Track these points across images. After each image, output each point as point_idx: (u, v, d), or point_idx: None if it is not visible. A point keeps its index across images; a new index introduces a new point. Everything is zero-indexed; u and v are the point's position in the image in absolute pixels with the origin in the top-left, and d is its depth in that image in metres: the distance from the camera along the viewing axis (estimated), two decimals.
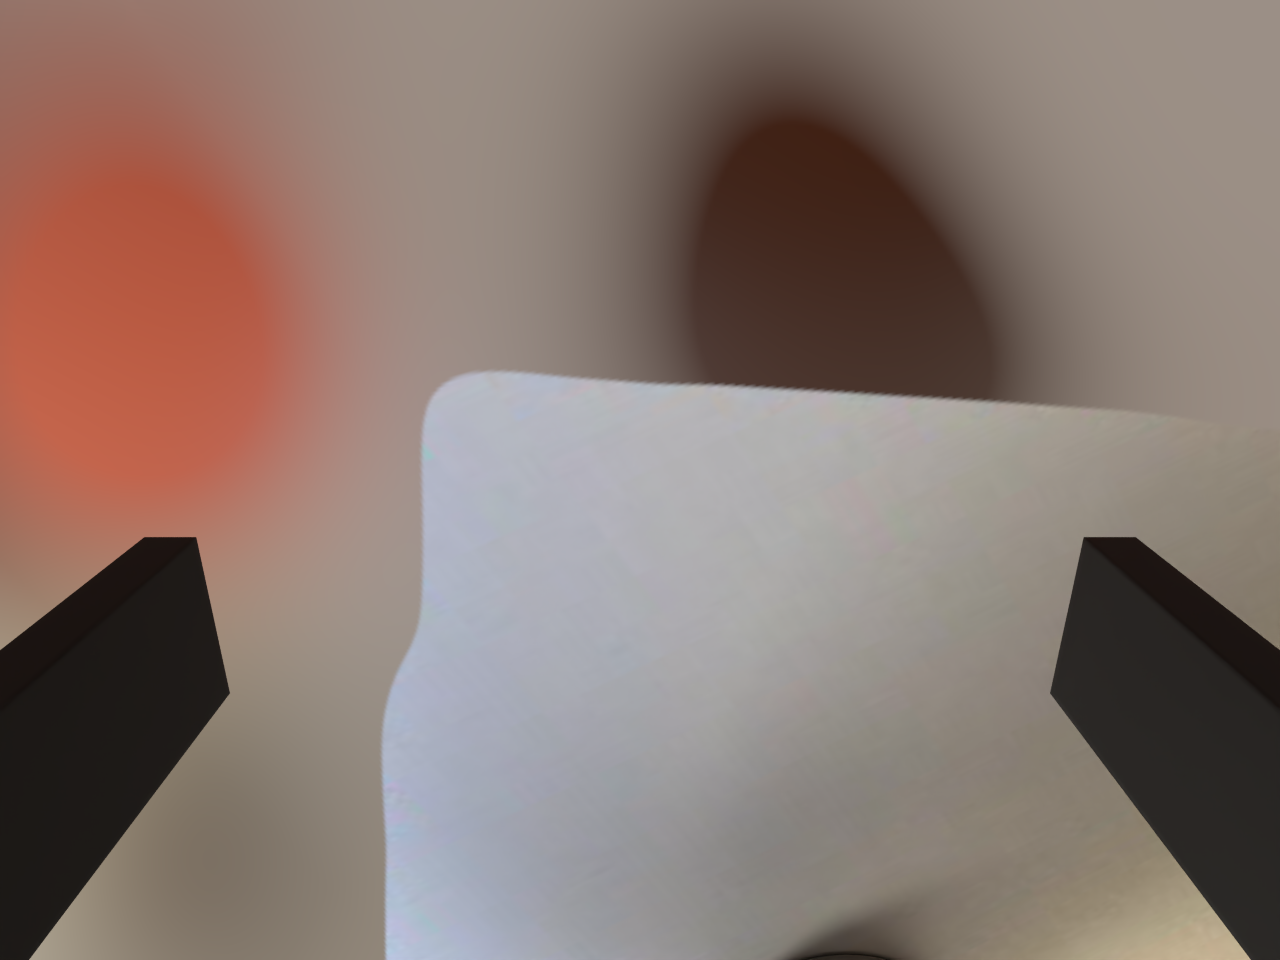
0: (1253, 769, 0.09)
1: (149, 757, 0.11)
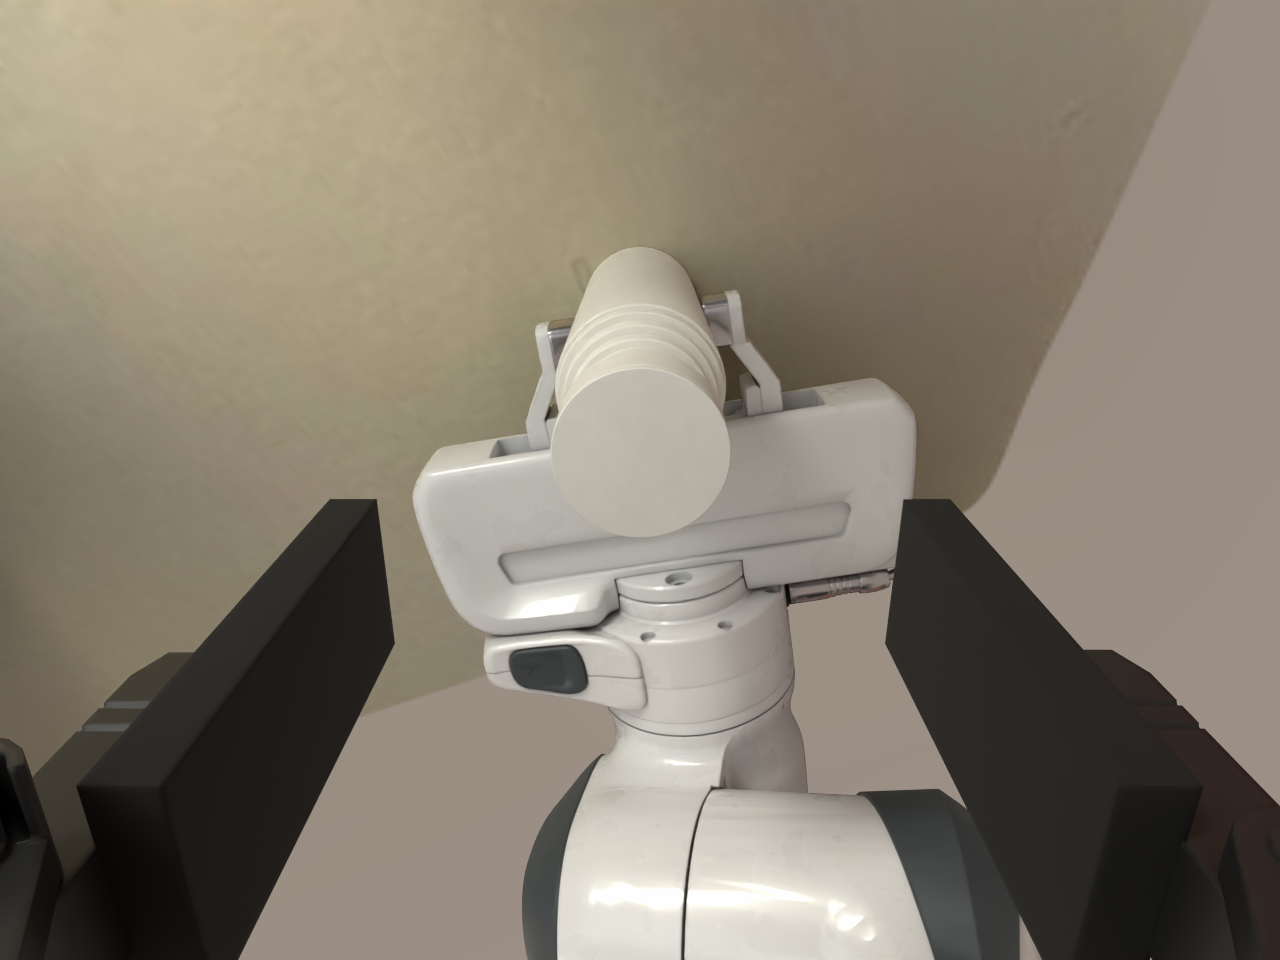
0: (990, 688, 0.10)
1: (352, 692, 0.12)
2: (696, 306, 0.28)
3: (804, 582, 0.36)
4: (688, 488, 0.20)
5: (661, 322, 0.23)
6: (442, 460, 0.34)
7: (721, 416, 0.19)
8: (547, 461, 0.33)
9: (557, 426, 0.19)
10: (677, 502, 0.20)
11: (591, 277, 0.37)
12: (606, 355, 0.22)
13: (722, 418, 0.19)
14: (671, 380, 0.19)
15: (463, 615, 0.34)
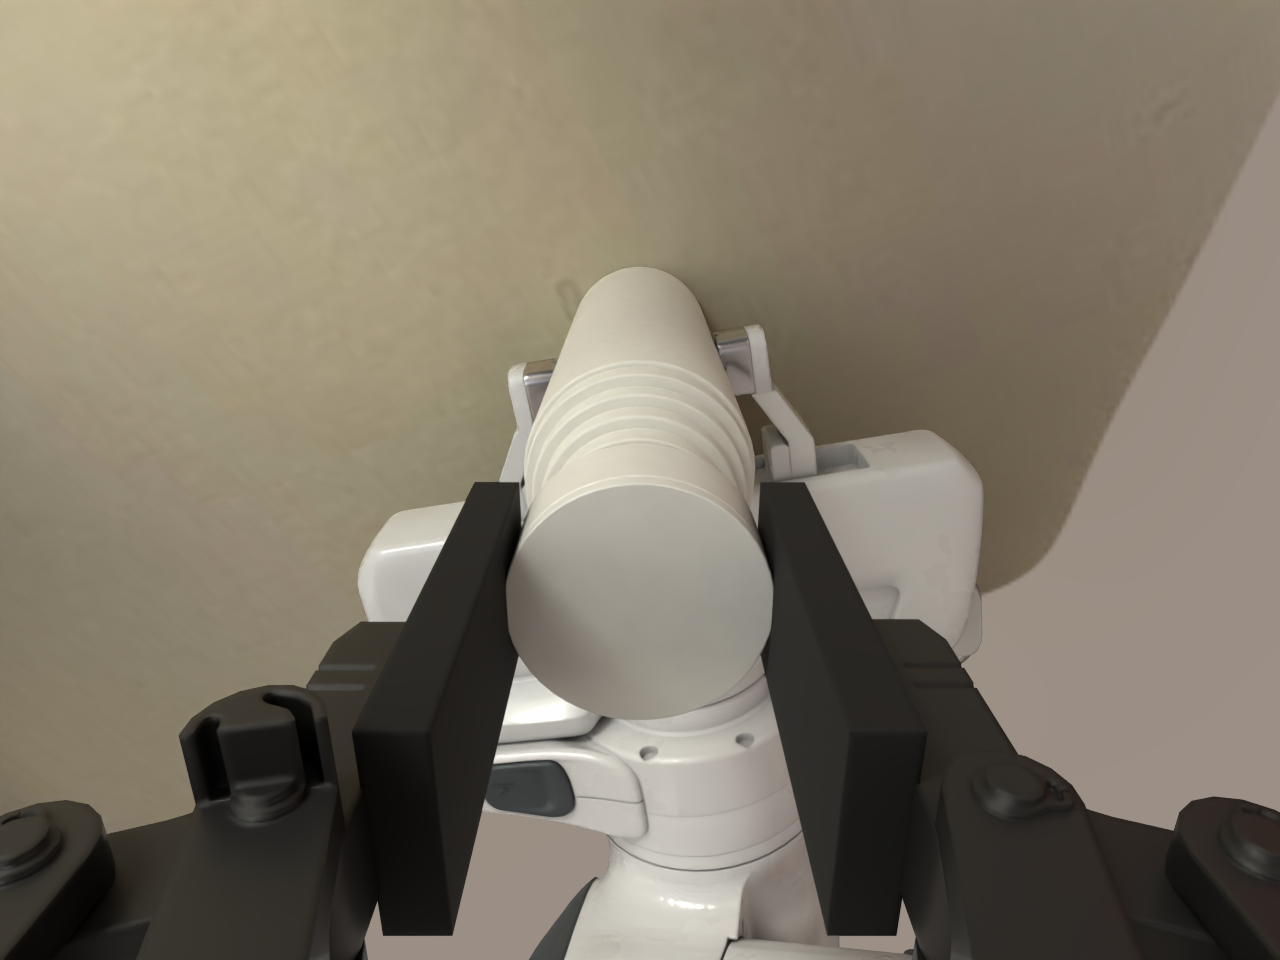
0: (797, 653, 0.11)
1: (508, 663, 0.13)
2: (712, 352, 0.22)
3: None
4: (710, 653, 0.13)
5: (668, 388, 0.17)
6: (395, 532, 0.28)
7: (761, 552, 0.13)
8: None
9: (513, 566, 0.13)
10: (693, 672, 0.13)
11: (580, 304, 0.30)
12: (591, 439, 0.16)
13: (762, 555, 0.13)
14: (686, 501, 0.12)
15: None
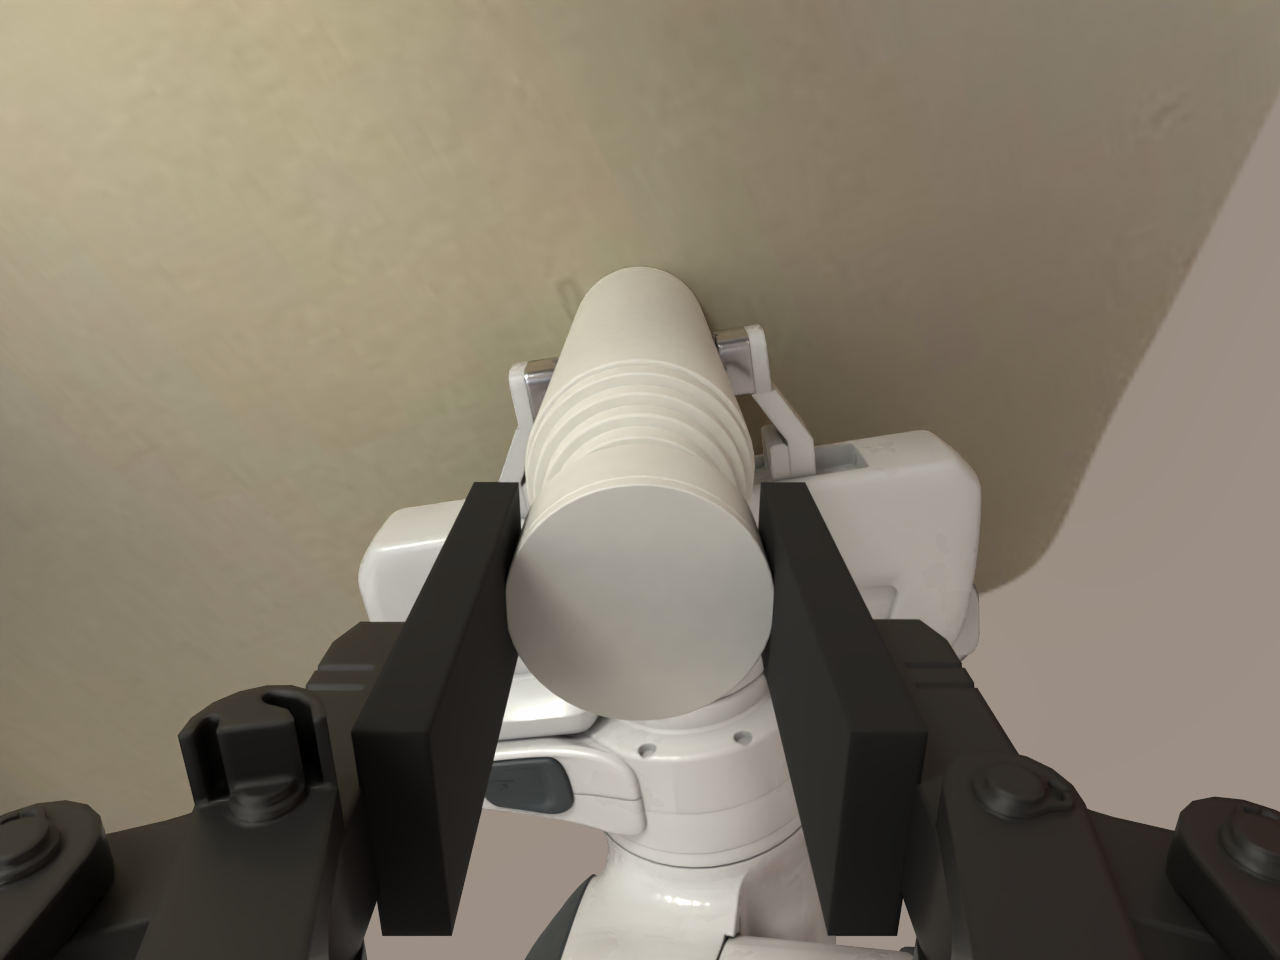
0: (797, 654, 0.11)
1: (508, 663, 0.13)
2: (712, 352, 0.22)
3: None
4: (660, 530, 0.12)
5: (669, 387, 0.17)
6: (396, 529, 0.28)
7: (533, 531, 0.12)
8: None
9: (644, 717, 0.14)
10: (689, 537, 0.12)
11: (581, 303, 0.31)
12: (592, 437, 0.16)
13: (534, 529, 0.12)
14: (515, 613, 0.13)
15: None
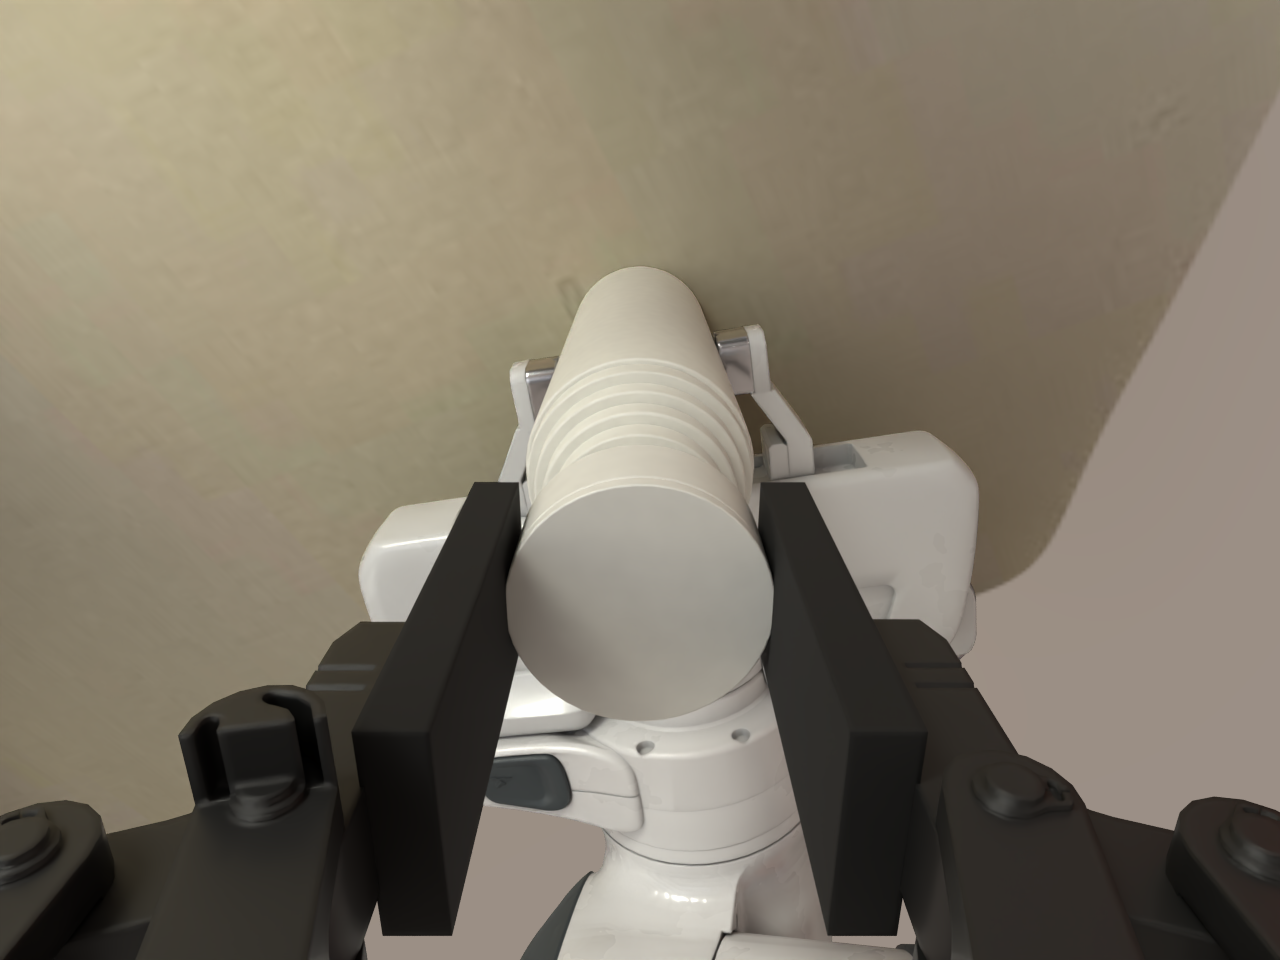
0: (797, 654, 0.11)
1: (508, 663, 0.13)
2: (712, 351, 0.22)
3: None
4: (552, 622, 0.13)
5: (669, 385, 0.17)
6: (396, 526, 0.28)
7: (602, 715, 0.14)
8: None
9: (762, 560, 0.13)
10: (546, 599, 0.13)
11: (581, 302, 0.31)
12: (593, 435, 0.16)
13: (599, 715, 0.14)
14: (689, 704, 0.13)
15: None
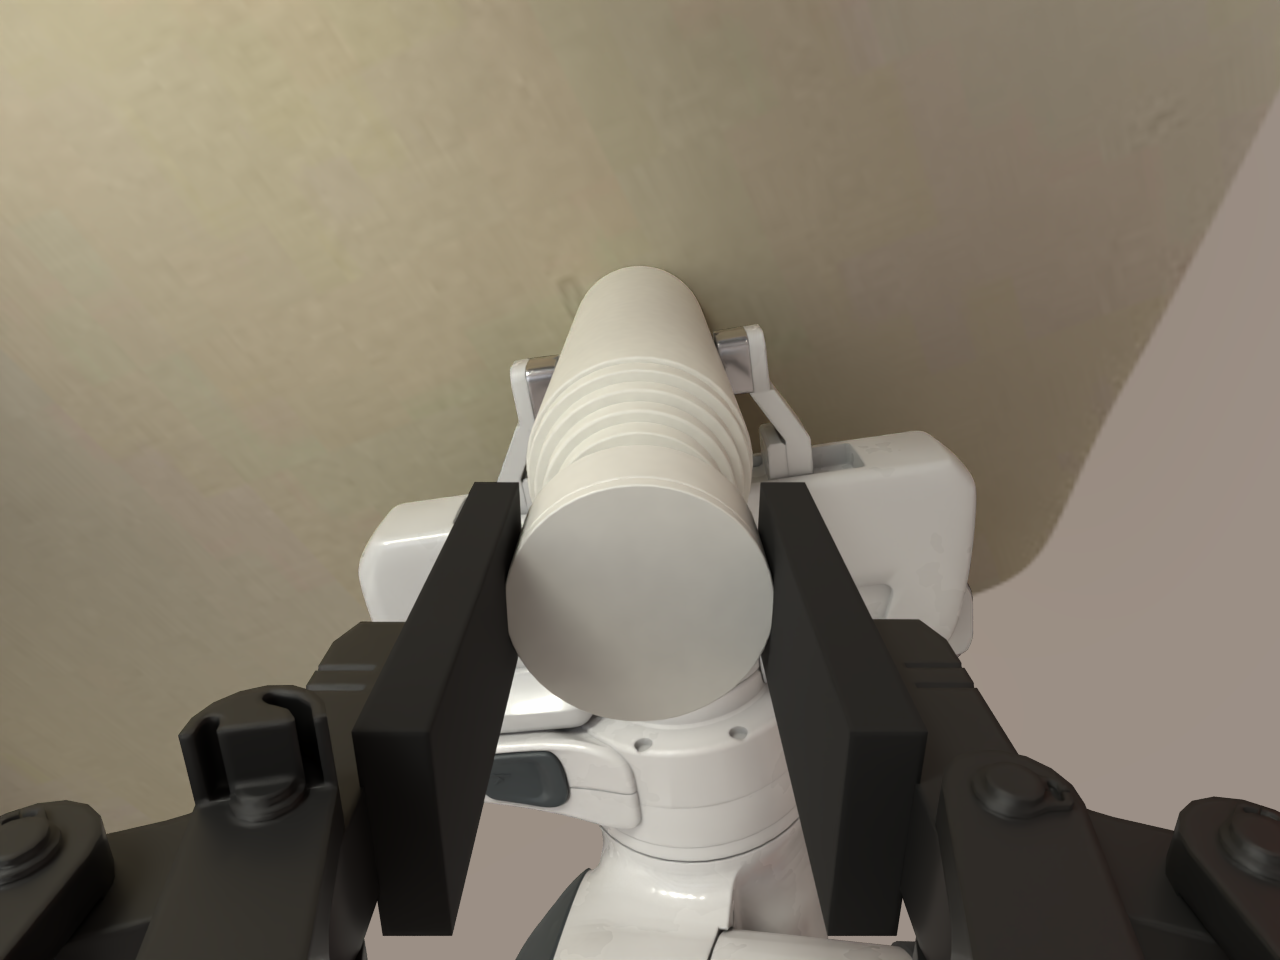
0: (797, 653, 0.11)
1: (508, 663, 0.13)
2: (712, 351, 0.22)
3: None
4: (685, 674, 0.13)
5: (669, 384, 0.17)
6: (396, 524, 0.28)
7: None
8: None
9: (538, 528, 0.12)
10: (662, 686, 0.13)
11: (582, 301, 0.31)
12: (593, 432, 0.16)
13: None
14: (727, 527, 0.12)
15: None
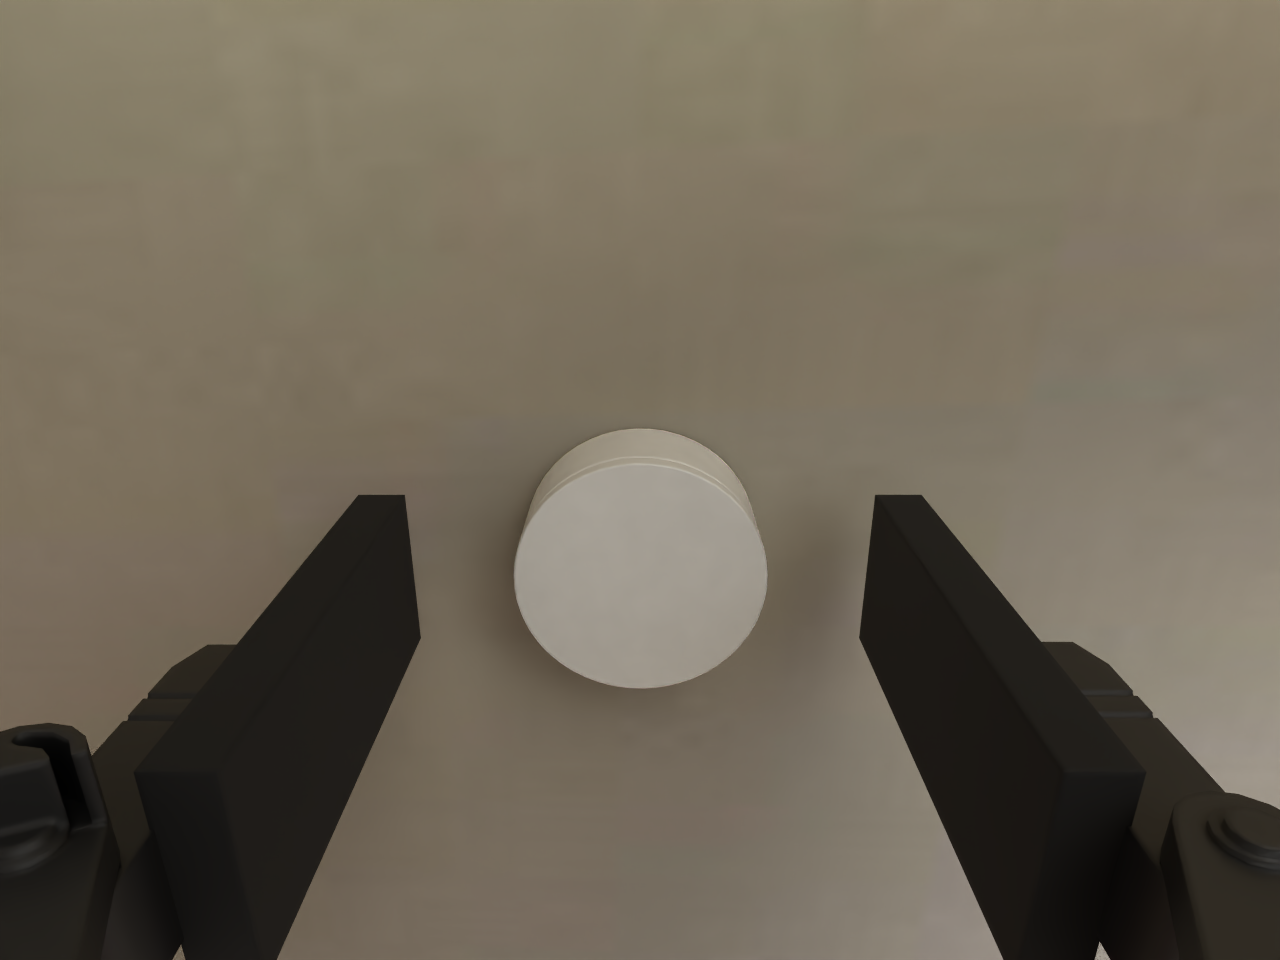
0: (952, 679, 0.10)
1: (383, 684, 0.12)
2: None
3: None
4: (683, 643, 0.14)
5: None
6: None
7: (766, 571, 0.14)
8: None
9: (546, 504, 0.13)
10: (662, 655, 0.14)
11: None
12: None
13: (766, 574, 0.14)
14: (723, 503, 0.13)
15: None
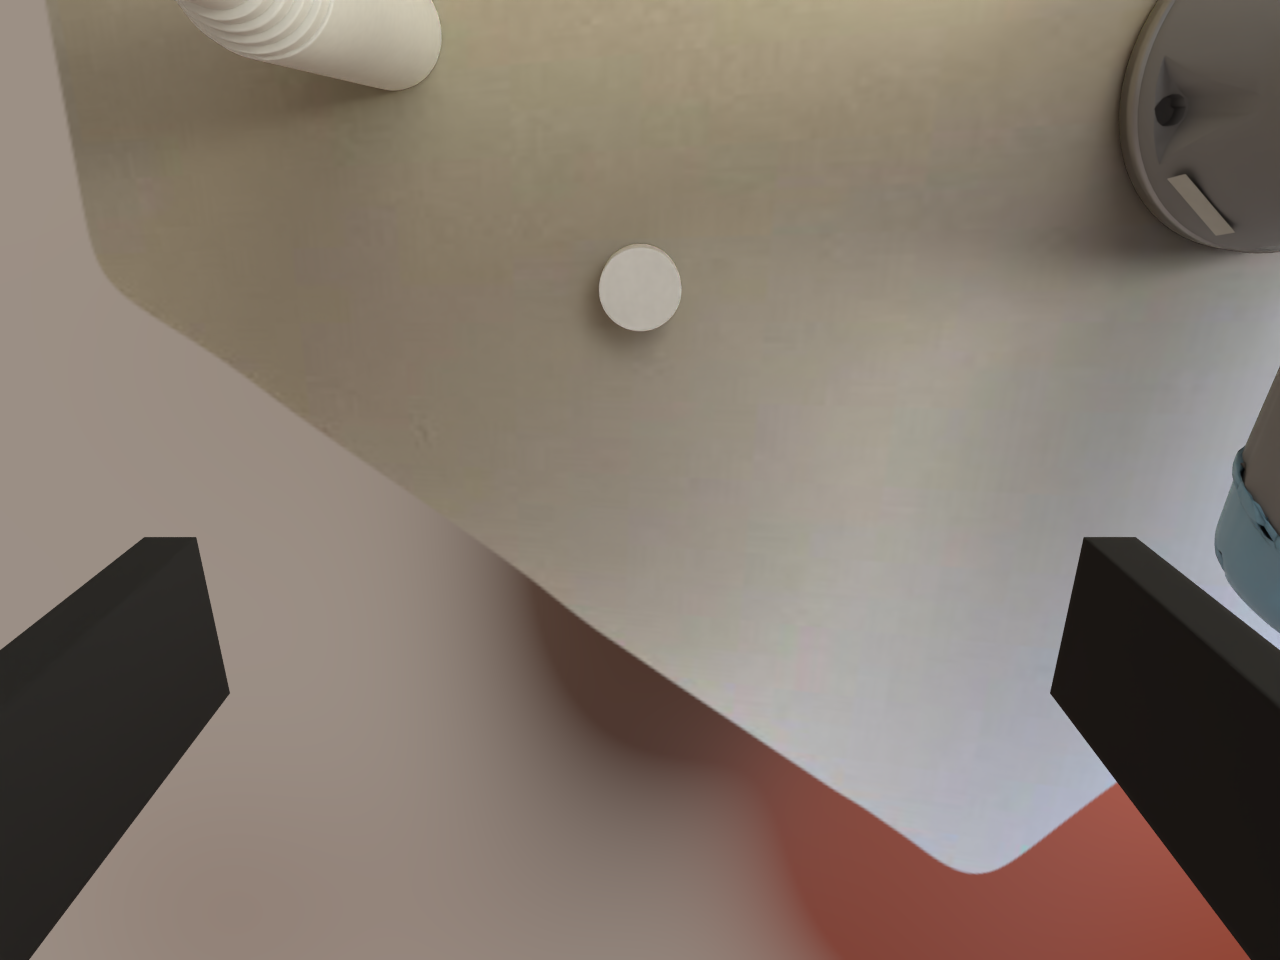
0: (1254, 769, 0.09)
1: (149, 757, 0.11)
2: (336, 68, 0.31)
3: None
4: (654, 313, 0.42)
5: (306, 16, 0.26)
6: None
7: (681, 286, 0.42)
8: None
9: (610, 262, 0.42)
10: (647, 317, 0.43)
11: None
12: None
13: (681, 287, 0.42)
14: (666, 261, 0.42)
15: None
